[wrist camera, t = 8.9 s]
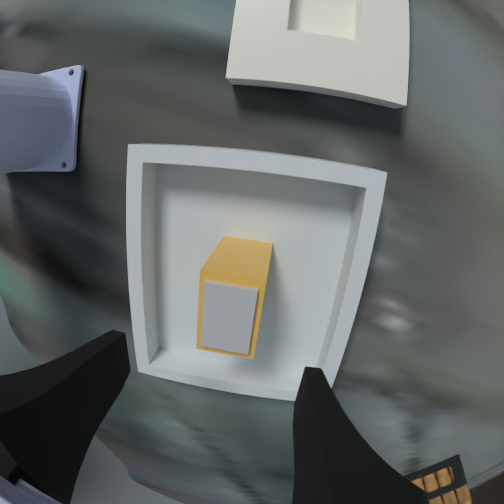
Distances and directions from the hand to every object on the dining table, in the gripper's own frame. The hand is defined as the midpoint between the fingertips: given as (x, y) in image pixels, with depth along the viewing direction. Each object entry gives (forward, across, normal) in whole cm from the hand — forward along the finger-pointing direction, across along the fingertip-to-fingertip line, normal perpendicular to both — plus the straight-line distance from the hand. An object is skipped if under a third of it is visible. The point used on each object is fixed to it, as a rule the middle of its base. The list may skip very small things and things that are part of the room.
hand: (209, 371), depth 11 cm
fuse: (+9, 0, 0) cm, 9 cm away
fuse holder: (+10, -3, -18) cm, 21 cm away
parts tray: (+10, 0, 0) cm, 10 cm away
